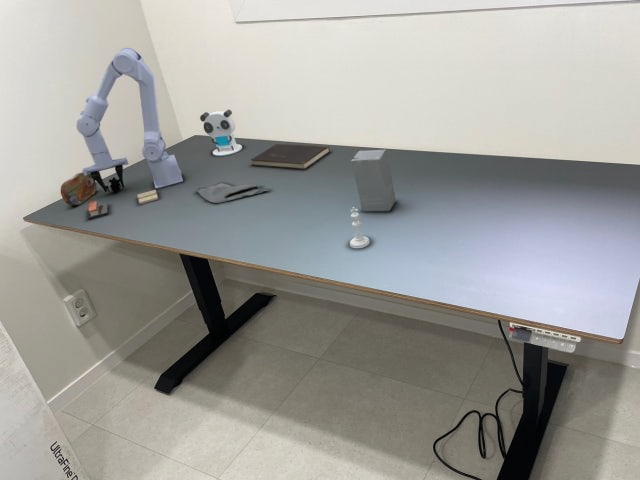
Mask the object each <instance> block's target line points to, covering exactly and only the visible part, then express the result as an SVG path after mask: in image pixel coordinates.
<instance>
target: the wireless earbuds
mask: <svg viewBox="0 0 640 480" xmlns="http://www.w3.org/2000/svg"><path fill="white" fill-rule="evenodd" d="M108 183H110V185H105V188H106V189H107V192H108V194H111V192H112V193H113V194H117V193H118V192H120V191H121V188H122V186H121V183H120V180H119V179H118V178H116V177H112V179H111V178H110V179H109V180H108ZM109 187H110V188H109ZM110 189H111V190H110Z"/></svg>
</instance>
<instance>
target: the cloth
mask: <svg viewBox="0 0 640 480" xmlns="http://www.w3.org/2000/svg"><path fill="white" fill-rule="evenodd" d="M195 191H196V193H197V194H198V195H199V196H200V197H202V199H204V200H206V201H207V202H210V203H213V204H220V203H225V202H229V201H230V202H231V201H234V200H239V199H241V198H246V197H249V196H254V195H259V194H261V193H266V192H269V191H270V190H269V189H264V188H261V186H258V185H256V184H255V185H254V184H241V185H236V186H235V185H234V186H233V185H230V184H227V183H222V182H220V183H218V184H215V185H211V186H207V187H206V188H204V187H203V188H202V187H201V188H200V189H197V190H195Z"/></svg>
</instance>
